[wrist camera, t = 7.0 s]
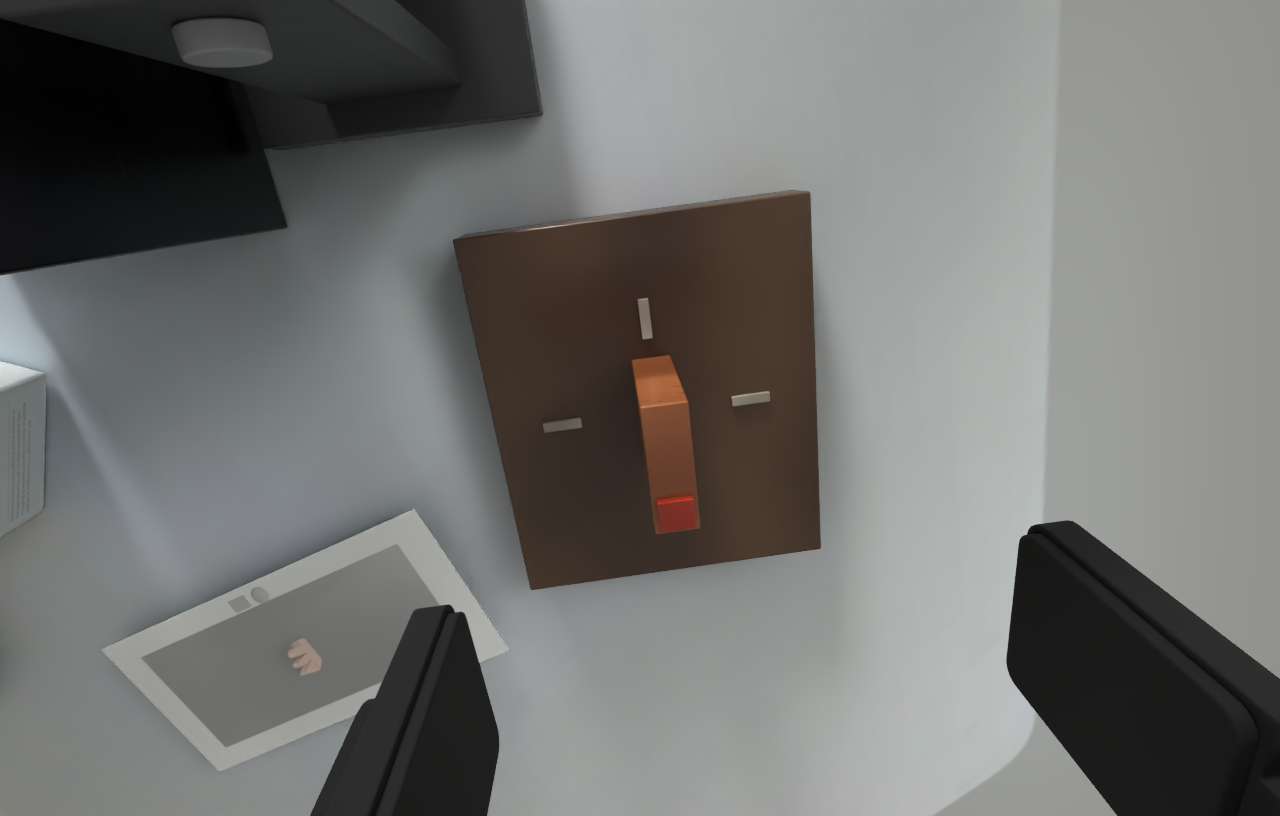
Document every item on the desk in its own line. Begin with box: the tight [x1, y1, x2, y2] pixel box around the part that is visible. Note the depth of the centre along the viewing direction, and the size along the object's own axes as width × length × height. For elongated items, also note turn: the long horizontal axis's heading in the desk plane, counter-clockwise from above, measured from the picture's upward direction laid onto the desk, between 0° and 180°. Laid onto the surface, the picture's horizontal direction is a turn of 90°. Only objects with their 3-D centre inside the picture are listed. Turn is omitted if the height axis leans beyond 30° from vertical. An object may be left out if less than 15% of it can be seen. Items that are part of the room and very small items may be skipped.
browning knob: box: [631, 355, 700, 534], centre depth 21 cm, size 4×1×5 cm, turn 7°
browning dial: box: [453, 190, 821, 590], centre depth 24 cm, size 12×14×2 cm
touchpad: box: [101, 509, 510, 772], centre depth 27 cm, size 8×15×2 cm, turn 114°
